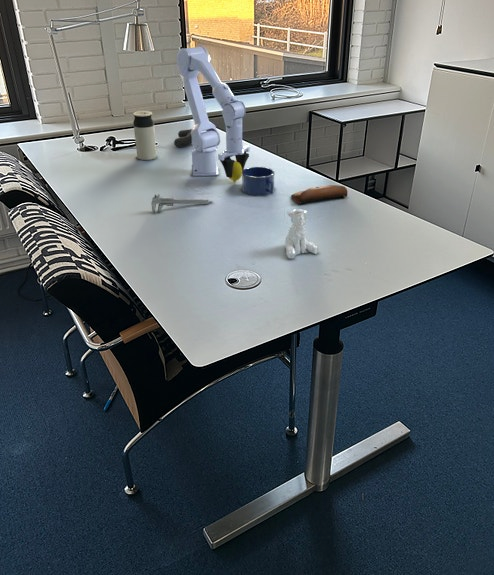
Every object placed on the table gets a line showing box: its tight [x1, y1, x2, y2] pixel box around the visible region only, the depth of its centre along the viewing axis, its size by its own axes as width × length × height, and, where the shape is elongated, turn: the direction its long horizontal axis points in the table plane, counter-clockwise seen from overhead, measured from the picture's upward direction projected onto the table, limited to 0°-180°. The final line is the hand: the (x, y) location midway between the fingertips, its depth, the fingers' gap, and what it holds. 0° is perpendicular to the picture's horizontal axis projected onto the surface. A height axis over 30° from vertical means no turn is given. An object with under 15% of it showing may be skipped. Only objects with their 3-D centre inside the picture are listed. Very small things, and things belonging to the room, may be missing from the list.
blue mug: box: [241, 166, 275, 196], centre depth 184 cm, size 14×11×6 cm
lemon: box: [228, 160, 242, 183], centre depth 191 cm, size 6×6×8 cm
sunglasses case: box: [291, 184, 348, 205], centre depth 179 cm, size 18×7×7 cm
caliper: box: [151, 193, 213, 214], centre depth 171 cm, size 20×1×6 cm, turn 116°
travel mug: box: [132, 110, 158, 161], centre depth 213 cm, size 8×8×18 cm
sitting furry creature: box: [284, 208, 319, 260], centre depth 144 cm, size 10×9×12 cm
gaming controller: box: [173, 128, 193, 148], centre depth 234 cm, size 17×6×10 cm
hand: (234, 175), depth 191 cm, fingers closed on lemon, 5 cm apart
